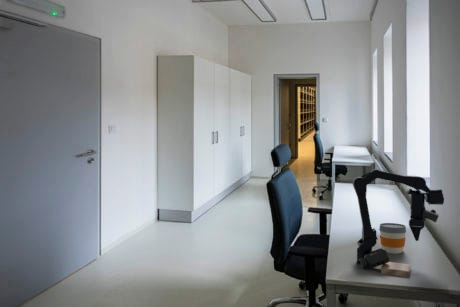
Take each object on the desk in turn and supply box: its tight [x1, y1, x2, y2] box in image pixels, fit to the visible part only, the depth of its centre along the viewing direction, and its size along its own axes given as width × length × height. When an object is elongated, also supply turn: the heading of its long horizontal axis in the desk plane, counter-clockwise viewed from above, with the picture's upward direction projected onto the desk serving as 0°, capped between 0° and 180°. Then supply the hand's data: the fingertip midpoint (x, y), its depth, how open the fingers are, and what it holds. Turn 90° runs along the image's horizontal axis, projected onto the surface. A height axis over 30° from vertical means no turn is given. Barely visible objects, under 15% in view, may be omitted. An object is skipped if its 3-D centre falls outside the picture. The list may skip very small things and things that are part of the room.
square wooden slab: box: [380, 261, 411, 278], centre depth 179 cm, size 11×11×3 cm
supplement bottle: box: [359, 247, 391, 270], centre depth 182 cm, size 7×7×12 cm
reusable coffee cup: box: [378, 222, 407, 255], centre depth 206 cm, size 13×13×15 cm
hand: (417, 238), depth 185 cm, fingers open, 9 cm apart
